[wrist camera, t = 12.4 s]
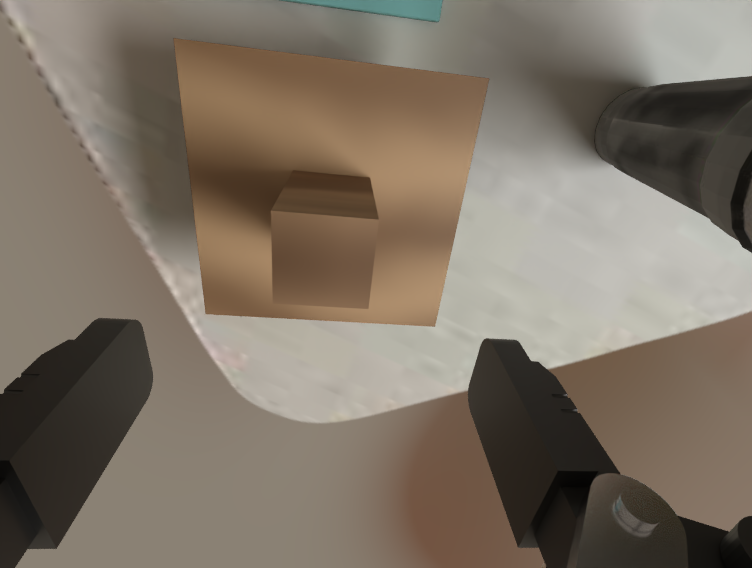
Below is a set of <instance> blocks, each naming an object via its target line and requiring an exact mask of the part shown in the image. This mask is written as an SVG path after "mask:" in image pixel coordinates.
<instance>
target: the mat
mask: <svg viewBox="0 0 752 568" xmlns="http://www.w3.org/2000/svg"><path fill="white" fill-rule="evenodd" d="M281 1H288V2H295V3H303V4H310V5H317V6H324V7H331V8H338V9H346V10H353V11H360V12H367V13H374V14H381V15H389V16H396V17H403V18H410V19H417V20H424V21H432V22H439V20H440V14H441V7H442V1H443V0H281Z"/></svg>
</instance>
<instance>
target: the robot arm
mask: <svg viewBox="0 0 752 568" xmlns="http://www.w3.org/2000/svg"><path fill="white" fill-rule="evenodd" d="M152 382H153V372H152V367H151V362H150V358H149V354H148V349H147V345H146V340H145V336H144V331H143V327H142V325H141V323H140V322H139V321H138V320H130V319H110V318H98V319H96V320H94V321H93V322H92V323H91V324H90V325H89V326H88V327H87V328H86V329H85V330H84V331H83V332H82V333H81V334H80V335H79V336H78V337H77V338H76V339H75V340H67V341H65V342H63V343H62V344H60V345H58V346H56V347H55V348H53V349H51V350H49V351H47V352H46V353H44V354H42V355H41V356H40V357H39V358H37V359H36V361H34V362H33V363H32V364H31V365H30V366H29V367H28V368H27V369H26V370H25V371H24V372H23V373H22V374H21V377H20V378H19V377H18V378H16V379H15V380H14V381H13V382H12V383H11V384H10V385H9V386H7V387H6V388H5V389H4V393H3V394H0V568H15V567H16V565H17V564H18V562H19V561H20V559H21V558H22V556H23V555H24V553H25V552H26V550H27V549H57V547H58V545H59V544H60V542H61V541H62V539H63V537H64V536H65V534H66V532H67V531H68V529H69V527H70V526H71V524H72V522H73V521H74V519H75V518H76V516H77V514H78V512H79V511H80V509H81V508H82V506H83V504H84V503H85V501H86V499H87V498H88V496H89V495H90V493H91V491H92V490H93V488H94V486H95V485H96V483H97V481H98V480H99V478H100V476H101V475H102V473H103V472H104V470H105V468H106V467H107V465H108V463H109V462H110V460H111V458H112V457H113V455H114V453H115V452H116V450H117V449H118V447H119V445H120V443H121V442H122V440H123V439H124V437H125V435H126V434H127V432H128V430H129V429H130V427H131V425H132V424H133V422H134V420H135V419H136V417H137V416H138V414H139V412H140V411H141V409H142V407H143V406H144V404H145V402H146V401H147V399H148V397H149V395H150V391H151V388H152ZM567 395H568V394H567V393H566V391H565V390H564V389H563V387H562V385H561V384H560V382H559V381H558V380H557V378H556V377H555V376H554V375H553V374H552V373H551V372H549V371H548V370H547V369H546V368H545V367H544V366H542V365H541V364H540V363H539V362H534V361H531V360H530V359H529V357H528V356H527V354H526V352H525V351H524V349H523V347H522V346H521V344H520V343H519V342H518V341H517V340H507V339H487V338H486V339H484V340H483V342H482V344H481V346H480V350H479V353H478V356H477V360H476V363H475V367H474V370H473V373H472V377H471V380H470V384H469V389H468V402H469V408H470V412H471V415H472V417H473V420H474V423H475V426H476V429H477V432H478V435H479V437H480V440H481V443H482V446H483V449H484V452H485V454H486V457H487V460H488V463H489V466H490V469H491V471H492V474H493V477H494V480H495V483H496V486H497V489H498V492H499V494H500V497H501V500H502V503H503V506H504V509H505V511H506V514H507V517H508V520H509V523H510V526H511V529H512V531H513V534H514V537H515V540H516V543H517V546H518V547H519V548H535V547H536V548H537V547H539V549H540V551H541V554H542V557H543V559H544V564H543V565H542V568H752V516H748V517H745V518H743V519H742V520H740V521H739V522H738V523H737V524H736V525H735V527H734V528H733V529H732V530H731V531H730V532H728V531H725V530H722V529H718V528H715V527H712V526H709V525H706V524H703V523H699V522H696V521H693V520H690V519H687V518H683V517H680V516H677V514H676V513H675V512H674V510H673V509H672V508H671V507H670V505H669V504H668V503H667V502H666V501H665V500H664V499H663V498H662V497H661V496H660V495H658V494H657V493H656V492H655V491H653V490H652V489H651V488H649V487H648V486H646V485H645V484H643V483H641V482H639V481H637V480H635V479H633V478H631V477H628V476H625V475H621V474H620V472H619V471H618V470H617V468H616V467H615V465H614V464H613V462H612V461H611V459H610V458H609V456H608V455H607V453H606V451H605V450H604V448H603V447H602V446H601V444H600V443H599V441H598V439H597V438H596V436H595V435H594V433H593V432H592V431H591V429H590V427H589V426H588V424H587V423H586V421H585V420H584V419H583V417H582V415H581V414H580V413H577V408H576V406H575V405H574V403H573V402H572V401H571V399H570V398H568V397H567Z"/></svg>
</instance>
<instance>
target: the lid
mask: <svg viewBox="0 0 752 568" xmlns="http://www.w3.org/2000/svg"><path fill="white" fill-rule="evenodd" d="M174 47H175V55H176V64H177V72H178V81H179V90H180V98H181V107H182V115H183V124H184V132H185V141H186V149H187V158H188V167H189V175H190V184H191V192H192V201H193V209H194V218H195V226H196V235H197V244H198V252H199V261H200V269H201V278H202V286H203V295H204V303H205V312H206V314H214V315H232V316H250V317H269V318H287V319H305V320H324V321H342V322H360V323H379V324H397V325H415V326H434V327H435V324H436V319H437V315H438V310H439V306H440V301H441V296H442V292H443V287H444V283H445V278H446V274H447V269H448V265H449V260H450V255H451V251H452V246H453V242H454V237H455V233H456V228H457V224H458V219H459V214H460V210H461V205H462V201H463V196H464V192H465V187H466V183H467V178H468V173H469V169H470V164H471V160H472V155H473V151H474V146H475V141H476V137H477V132H478V128H479V123H480V119H481V114H482V110H483V105H484V100H485V96H486V91H487V87H488V82H489V78H481V77H473V76H465V75H458V74H450V73H442V72H434V71H426V70H418V69H411V68H403V67H395V66H387V65H379V64H371V63H364V62H356V61H348V60H340V59H332V58H325V57H317V56H309V55H301V54H293V53H285V52H278V51H270V50H262V49H254V48H246V47H238V46H231V45H223V44H215V43H207V42H199V41H191V40H184V39H176V38H174Z"/></svg>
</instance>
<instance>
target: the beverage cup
mask: <svg viewBox="0 0 752 568" xmlns="http://www.w3.org/2000/svg"><path fill="white" fill-rule="evenodd" d="M595 145H596V149H597V152H598V154H599V155H600V157H601V158H602V159H603V160H604V161H606V162H608V163H609V164H611V165H613V166H614V167H615V168H617V169H618V170H620V171H622V172H623V173H625V174H627V175H629V176H631V177H633V178H635V179H636V180H638V181H640V182H642V183H644V184H646V185H648V186H649V187H651V188H653V189H655V190H657V191H659V192H661V193H663V194H664V195H666V196H668V197H670V198H672V199H674V200H676V201H678V202H679V203H681V204H683V205H685V206H687V207H689V208H691V209H693V210H694V211H696V212H698V213H700V214H702V215H704V216H706V217H708V218H709V219H710V220H711V222H712V223H714V224H715V225H716V226H718V227H719V228H720V229H722V230H723V231H724V232H726V233H727V234H728V235H730V236H731V237H733V238H735V239H736V240H738V241H739V242H740V244H741V245H742V247H743V248H745V249H746V250H748V251H750V252H751V253H752V76H749V77H738V78H727V79H716V80H705V81H694V82H682V83H671V84H662V85H656V86H651V87H648V88H645V87H642V88H637V89H632V90H629V91H627V92H625V93H624V94H622V95H620V96H618V97H617V98H616V99H615V100H614V101H613V102H612V103H611V104H609V105H608V107H607V108H606V110H605V111H604V113H603V114H602V115H601V117H600V120H599V122H598V125H597V127H596V132H595Z"/></svg>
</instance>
